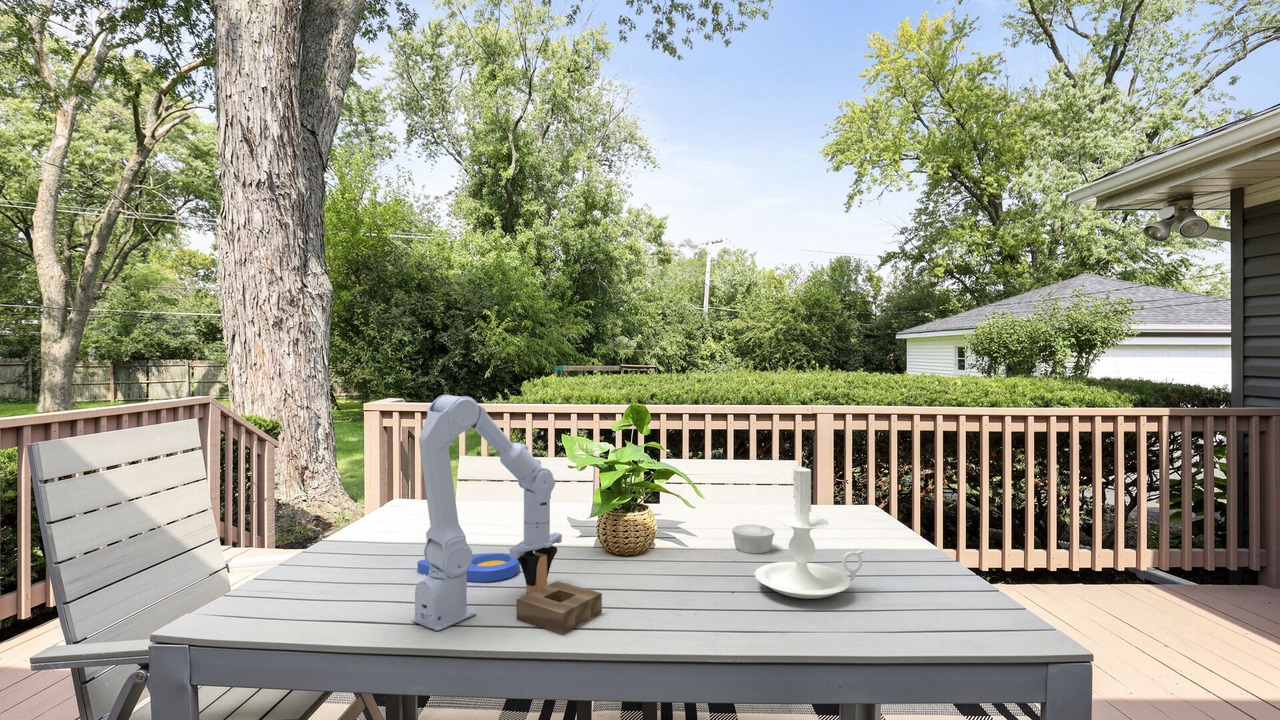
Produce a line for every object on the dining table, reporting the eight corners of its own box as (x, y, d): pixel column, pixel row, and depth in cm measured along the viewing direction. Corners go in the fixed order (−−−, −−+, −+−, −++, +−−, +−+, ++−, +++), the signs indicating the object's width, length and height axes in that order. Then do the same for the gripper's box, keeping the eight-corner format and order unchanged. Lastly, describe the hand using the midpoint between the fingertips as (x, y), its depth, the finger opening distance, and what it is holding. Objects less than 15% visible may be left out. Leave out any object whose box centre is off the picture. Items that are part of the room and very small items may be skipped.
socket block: (562, 634, 114) (562, 613, 114) (516, 619, 121) (516, 599, 121) (601, 612, 124) (601, 593, 124) (557, 599, 131) (557, 581, 131)
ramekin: (782, 552, 163) (782, 533, 163) (746, 557, 159) (746, 537, 159) (759, 541, 174) (759, 522, 174) (724, 545, 170) (724, 526, 170)
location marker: (405, 583, 142) (510, 583, 140) (405, 568, 142) (510, 569, 140) (429, 564, 155) (526, 564, 153) (429, 551, 155) (525, 551, 153)
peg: (536, 595, 133) (536, 558, 133) (526, 592, 135) (526, 555, 135) (546, 590, 136) (547, 554, 136) (536, 587, 138) (536, 552, 138)
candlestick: (886, 607, 127) (887, 472, 127) (770, 611, 125) (771, 474, 125) (844, 572, 148) (844, 457, 148) (744, 576, 145) (744, 458, 145)
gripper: (526, 531, 127) (526, 596, 127) (571, 516, 139) (571, 576, 139) (502, 526, 131) (502, 589, 131) (548, 512, 143) (548, 570, 143)
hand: (536, 582), depth 135 cm, fingers closed on peg, 3 cm apart
